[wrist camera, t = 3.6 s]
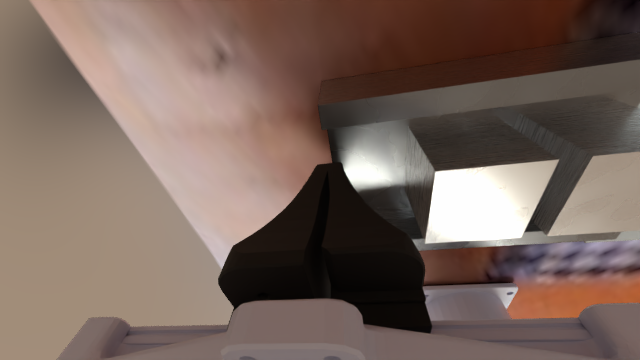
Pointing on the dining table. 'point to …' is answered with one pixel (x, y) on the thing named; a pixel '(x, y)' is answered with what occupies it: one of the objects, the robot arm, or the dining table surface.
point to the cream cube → (474, 179)
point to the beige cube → (588, 167)
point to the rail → (465, 114)
